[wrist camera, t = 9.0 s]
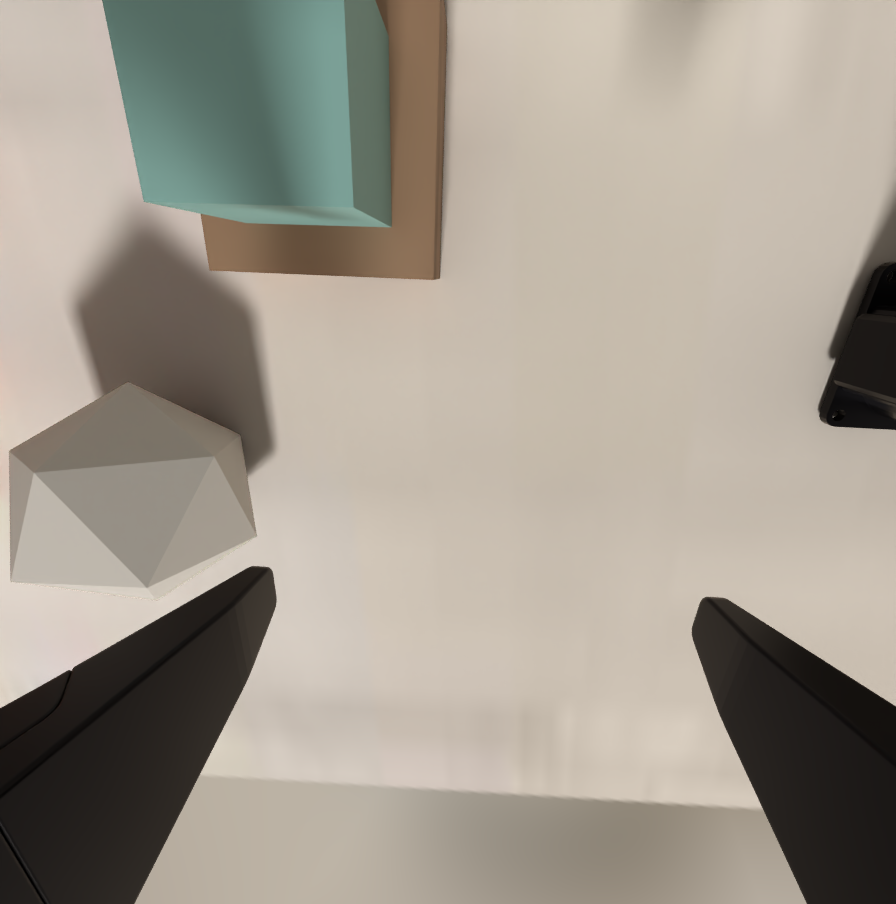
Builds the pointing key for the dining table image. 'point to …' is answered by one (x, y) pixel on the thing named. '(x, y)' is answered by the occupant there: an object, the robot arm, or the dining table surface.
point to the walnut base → (412, 177)
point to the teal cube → (258, 107)
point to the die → (127, 498)
